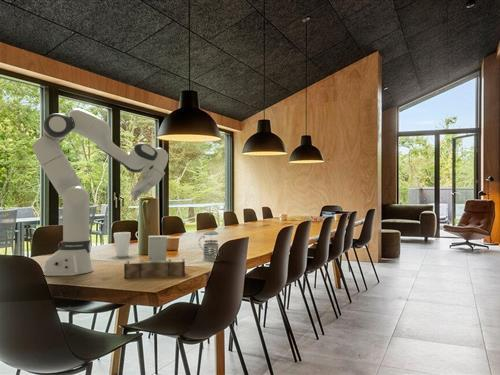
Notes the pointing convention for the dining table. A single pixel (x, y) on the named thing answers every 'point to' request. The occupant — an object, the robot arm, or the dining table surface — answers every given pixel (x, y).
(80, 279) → the dining table surface
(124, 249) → the foam cup
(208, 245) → the french press
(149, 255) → the skincare box
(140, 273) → the box
